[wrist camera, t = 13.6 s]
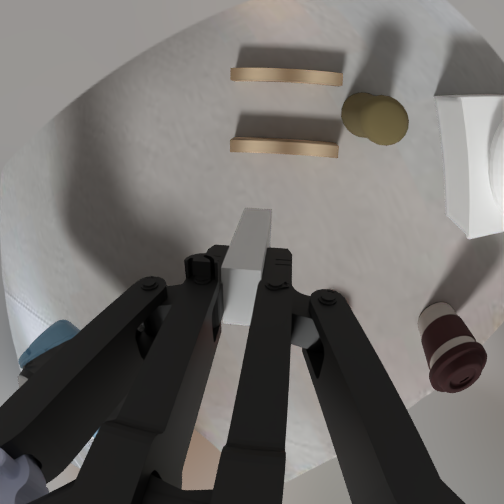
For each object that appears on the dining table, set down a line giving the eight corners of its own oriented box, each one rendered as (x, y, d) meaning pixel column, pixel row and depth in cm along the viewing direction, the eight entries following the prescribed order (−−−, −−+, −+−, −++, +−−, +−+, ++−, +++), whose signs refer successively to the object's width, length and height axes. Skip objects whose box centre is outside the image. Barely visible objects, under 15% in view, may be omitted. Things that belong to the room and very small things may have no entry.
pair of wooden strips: (234, 148, 40) (230, 152, 37) (234, 70, 35) (230, 68, 32) (334, 153, 38) (337, 158, 36) (338, 75, 33) (342, 73, 31)
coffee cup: (413, 299, 47) (442, 364, 34) (462, 290, 45) (499, 349, 32) (407, 341, 51) (427, 405, 38) (452, 332, 49) (479, 391, 36)
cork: (392, 128, 35) (424, 140, 26) (352, 144, 37) (372, 160, 28) (375, 86, 33) (403, 83, 24) (333, 101, 35) (348, 102, 25)
